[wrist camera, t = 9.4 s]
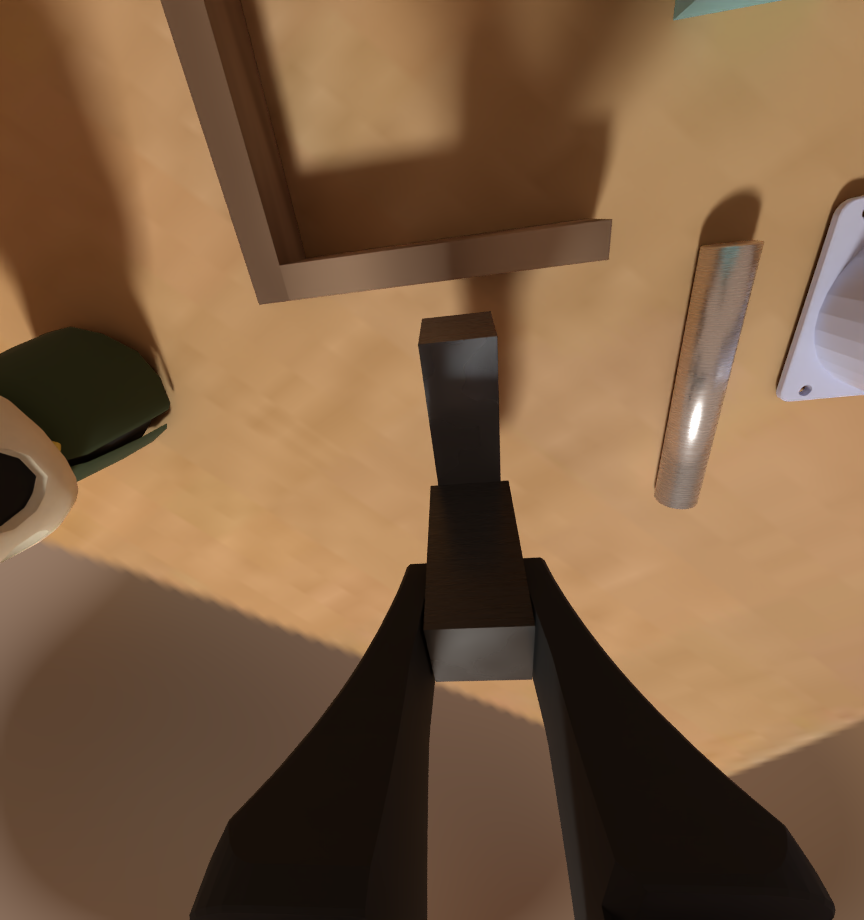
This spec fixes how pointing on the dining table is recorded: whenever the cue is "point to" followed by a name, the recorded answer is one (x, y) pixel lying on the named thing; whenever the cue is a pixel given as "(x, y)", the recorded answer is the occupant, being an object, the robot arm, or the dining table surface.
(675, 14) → the teal block
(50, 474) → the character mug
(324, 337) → the dining table surface
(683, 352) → the steel rod
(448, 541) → the dark grey bar
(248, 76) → the wooden u-shaped frame
